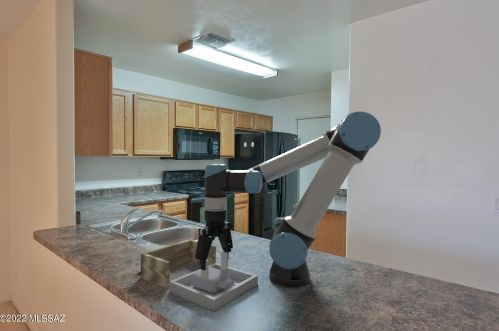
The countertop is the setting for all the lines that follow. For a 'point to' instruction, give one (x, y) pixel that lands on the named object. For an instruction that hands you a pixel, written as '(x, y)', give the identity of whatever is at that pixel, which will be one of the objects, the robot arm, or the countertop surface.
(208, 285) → the charger
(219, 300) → the tray
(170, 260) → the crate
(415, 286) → the countertop surface
